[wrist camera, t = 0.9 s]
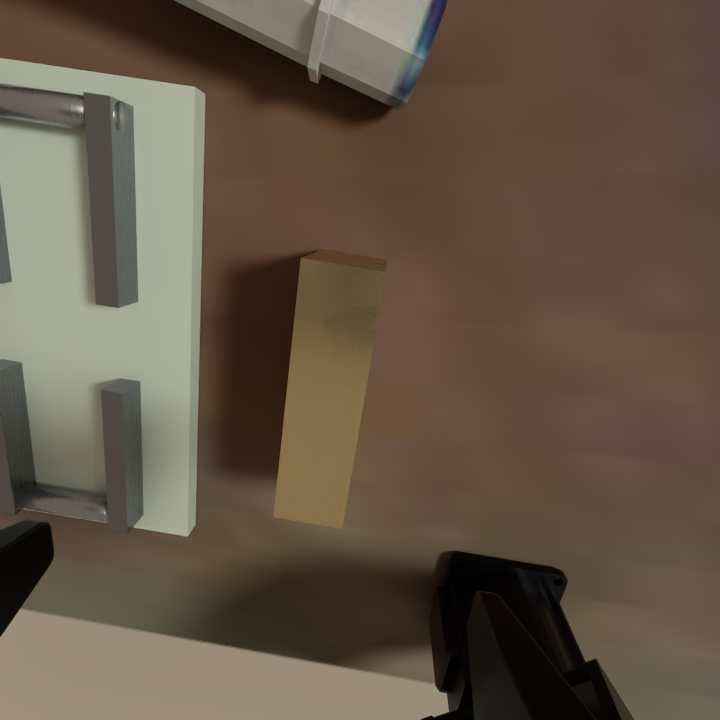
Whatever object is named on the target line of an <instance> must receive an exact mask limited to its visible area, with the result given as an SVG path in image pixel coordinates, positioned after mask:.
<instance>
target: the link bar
mask: <svg viewBox="0 0 720 720" xmlns="http://www.w3.org/2000/svg"><path fill="white" fill-rule="evenodd" d="M386 267H387V260H385V259H379V258H373V257H367V256H360V255H354V254H348V253H342V252H336V251H330V250H324V249H321V250H319V251H317V252H314V253H312V254H309V255H307V256H304V257H302V258H301V261H300V270H299V280H298V289H297V299H296V308H295V318H294V327H293V337H292V346H291V356H290V365H289V375H288V384H287V393H286V403H285V412H284V422H283V431H282V441H281V450H280V460H279V469H278V479H277V488H276V498H275V507H274V517H277V518H283V519H289V520H294V521H300V522H306V523H311V524H317V525H323V526H329V527H334V528H340V529H342V527H343V521H344V515H345V509H346V504H347V498H348V492H349V486H350V480H351V474H352V468H353V463H354V457H355V451H356V445H357V439H358V433H359V428H360V422H361V416H362V410H363V404H364V398H365V392H366V387H367V381H368V375H369V369H370V363H371V357H372V352H373V346H374V340H375V334H376V328H377V322H378V316H379V311H380V305H381V299H382V293H383V287H384V281H385V276H386Z"/></svg>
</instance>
